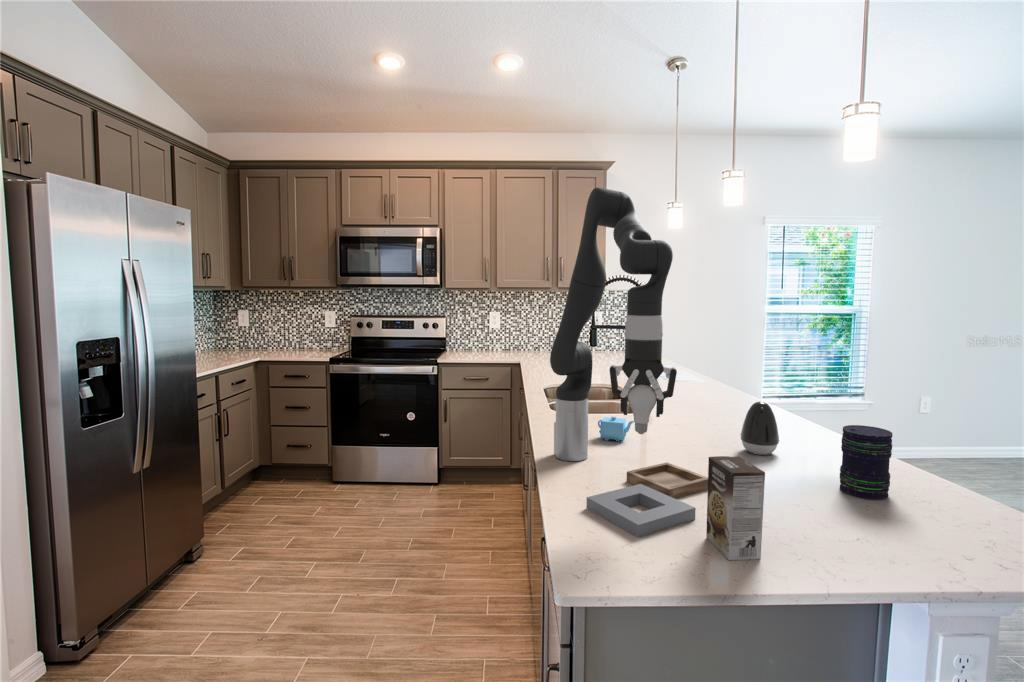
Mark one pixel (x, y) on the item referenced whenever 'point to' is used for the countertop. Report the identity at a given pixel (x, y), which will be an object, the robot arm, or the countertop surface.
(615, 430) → the teapot
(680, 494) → the tray
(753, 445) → the black egg-shaped device
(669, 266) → the robot arm
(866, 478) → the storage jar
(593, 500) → the socket block
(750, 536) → the coffee box
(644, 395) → the lightbulb
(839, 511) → the countertop surface
